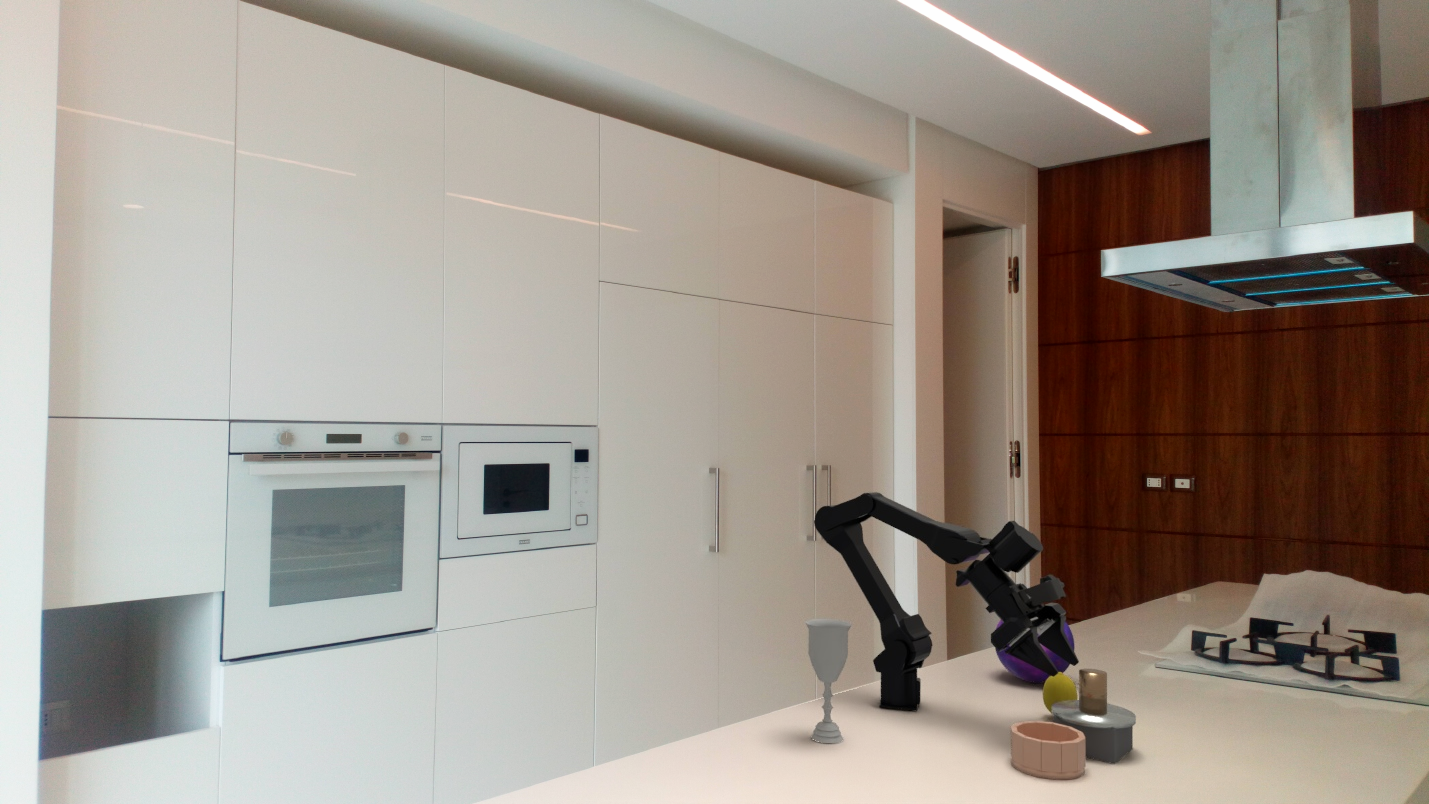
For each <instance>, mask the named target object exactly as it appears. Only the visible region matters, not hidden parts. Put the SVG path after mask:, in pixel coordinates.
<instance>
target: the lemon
mask: <svg viewBox="0 0 1429 804" xmlns="http://www.w3.org/2000/svg"><path fill="white" fill-rule="evenodd" d="M1076 687H1077V686H1076V685H1075V682H1074V681H1073V679H1071V678H1070V677H1069V676H1068V675H1065V674H1064V673H1062V672H1058V674H1057V675H1056V676H1054V677H1053V676H1050V677H1049V678H1048V679H1047V680H1046V682H1044V685H1043V689H1042V700H1043V704H1044V706H1045V708H1046V709H1047V711H1049V713H1051V714H1052V705H1053V704H1054V703H1056V702H1059V701H1066V700H1078V690H1077V688H1076Z"/></svg>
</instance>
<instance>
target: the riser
mask: <svg viewBox="0 0 1429 804" xmlns="http://www.w3.org/2000/svg"><path fill="white" fill-rule="evenodd" d="M1052 722H1053V723H1058V724H1062V725H1066V726H1070V727H1073V728H1075V729H1077V730H1079V731H1081V732H1083V734H1084V736H1085V758H1087V759H1092V760H1096V761H1101V762H1105V763H1110V764H1114V765H1115V764H1116V763H1118V762H1119V761H1120V760H1121V759H1123V758H1124V756H1126V755H1127V754H1128V753H1129V752H1130V751H1132V750H1133V749H1134V747H1133V743H1134V742H1133V741H1134V740H1133V730H1134V729H1133V727H1134V725H1133V726H1131V727H1127V728H1120V729H1104V728H1093V727H1086V726H1081V725H1076V724H1072V723H1069V722H1066V721H1063V720H1061V719H1059V718H1057V717H1055V716H1054V715H1053V716H1052Z"/></svg>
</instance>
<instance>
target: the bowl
mask: <svg viewBox="0 0 1429 804" xmlns="http://www.w3.org/2000/svg"><path fill="white" fill-rule="evenodd" d="M1010 757H1011V758H1010V763H1011V765H1012V767H1013V768H1014V769H1016V770H1018V771H1019V772H1021V773H1023V774H1026V775H1029V776H1033V777H1038V778H1042V779H1047V780H1048V779H1049V780H1073V779H1078V778H1081V777H1083V775H1084V774H1085V768H1086V757H1085V736H1084V734H1083V732H1081V731H1079V730H1077V729H1075V728H1073V727H1070V726H1066V725H1062V724H1058V723H1053V721H1041V720H1029V721H1028V720H1027V721H1018V722H1016V723H1014V724H1012V725H1010Z"/></svg>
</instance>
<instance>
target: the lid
mask: <svg viewBox="0 0 1429 804" xmlns="http://www.w3.org/2000/svg"><path fill="white" fill-rule="evenodd" d="M1051 714H1052V715H1053V716H1055V717H1057V718H1059V719H1061V720H1063V721H1066V722H1069V723H1072V724H1076V725H1081V726H1086V727H1093V728H1104V729H1120V728H1127V727H1131V726H1133V727H1134V726H1135V725H1136V723H1137V716H1136V714H1135V713H1134V712H1133V711H1132V710H1129V709H1127V708H1124V707H1122V706H1119V705H1115V704H1111V703H1109V702H1108V672H1106V671H1105V670H1101V669H1096V668H1079V669H1078V699H1077V700H1066V701H1059V702H1056V703H1054V704H1053V705H1052V713H1051Z"/></svg>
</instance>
